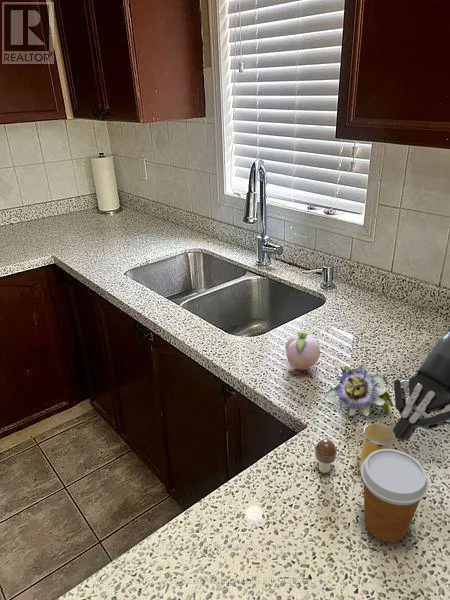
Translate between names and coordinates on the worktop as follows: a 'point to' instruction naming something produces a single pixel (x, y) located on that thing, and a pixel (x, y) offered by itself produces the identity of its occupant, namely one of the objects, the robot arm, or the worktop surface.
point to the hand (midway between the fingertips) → (397, 438)
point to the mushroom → (325, 454)
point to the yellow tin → (376, 440)
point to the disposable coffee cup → (391, 492)
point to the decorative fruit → (302, 351)
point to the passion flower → (360, 390)
